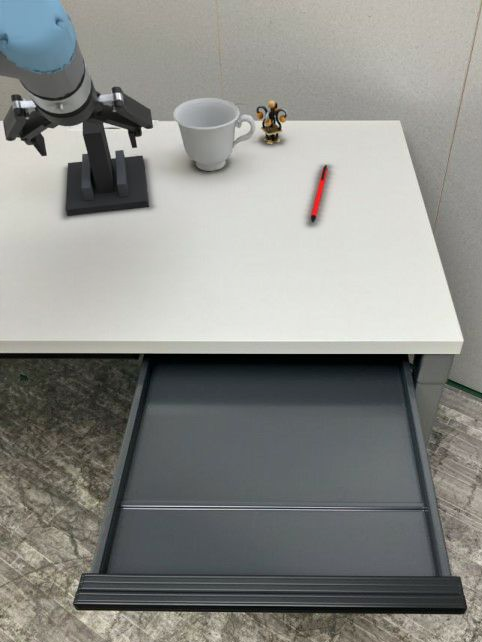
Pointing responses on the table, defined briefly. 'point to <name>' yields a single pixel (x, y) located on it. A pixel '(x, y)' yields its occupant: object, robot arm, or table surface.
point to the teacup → (210, 130)
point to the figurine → (271, 121)
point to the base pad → (126, 193)
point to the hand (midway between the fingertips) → (88, 143)
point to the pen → (319, 194)
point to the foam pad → (99, 156)
